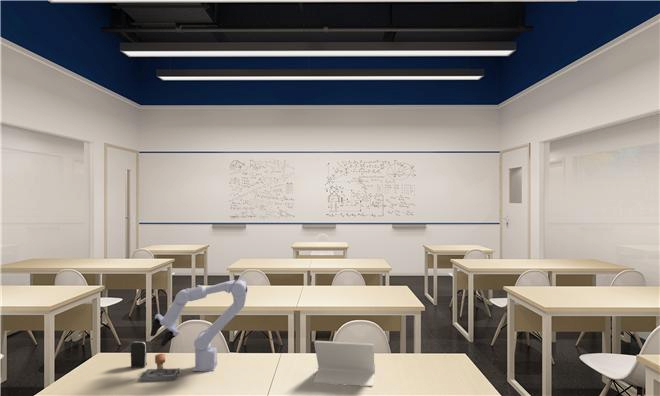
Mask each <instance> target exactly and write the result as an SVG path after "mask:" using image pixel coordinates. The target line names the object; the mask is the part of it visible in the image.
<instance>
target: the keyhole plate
mask: <svg viewBox="0 0 660 396" xmlns="http://www.w3.org/2000/svg"><path fill="white" fill-rule="evenodd" d="M179 375H181V368H179V367H178V368H163V369H157V368H148V369H146V370H145V372H143V373H142V374H141V375H140V377H139V378H140V379H139V381H140V383H141V382H143V383H144V382H173V381H176V380H177V377H179Z"/></svg>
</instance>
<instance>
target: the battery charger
mask: <svg viewBox="0 0 660 396" xmlns="http://www.w3.org/2000/svg"><path fill="white" fill-rule="evenodd" d="M148 352H149V345H148V342H147V341H146V340H135V341H133V342H132V343H131V344H130V367H131V368H145V367H146V366H148V365H147V364H148V363H147V353H148Z"/></svg>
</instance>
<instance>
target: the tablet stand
mask: <svg viewBox="0 0 660 396" xmlns="http://www.w3.org/2000/svg"><path fill="white" fill-rule="evenodd" d="M313 344H314V350H315V354H316V356H315V357H316V360H317V367H318V370H317V373H316V374H315V377H314V378H313V383H314V384H320V385H321V384H323V385H335V384H346V385H345V386H349V385H360V386H359V387H364V386H373V387H374V384H375V382H374V381H375V376H376V363H375V352H374V351H375V350H374V349H375V348H374V343H370V342H368V343H367V342H365V343H364V342H351V341H347V342H345V341H331V340H330V341H329V340H328V341H326V340H314V341H313ZM374 375H375V376H374ZM373 383H374V384H373Z"/></svg>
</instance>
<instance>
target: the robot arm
mask: <svg viewBox="0 0 660 396" xmlns="http://www.w3.org/2000/svg"><path fill="white" fill-rule="evenodd" d="M248 291H249V290H248V283H247V282H246V280H244V279H242V278H239V279H234V280H233V279H232V280H229V281H224V282H220V283H217V284H214V285H210V286H207V287H206V286H204V285H201V284H197V285H196V286H195V287H191V288H189V287H187V288H185V289H182V290H180V291H179V292H177V294H175V298H174V300H173V302H172V303H171V304H170V306H169V308H168V309H167V311H166V313H164V314H165V315H164V316H163V315H162V314H160V313H157V314H155V316H154V319H153V320H152V327H151V332H150V335H149V336H150V337H156V335H157V333H158V332H159V330H160V328H161V327H162V326H164V327H165V328H166V329H167V330H168V331H166V332H165V333H164V337H163V339H162V341H161V343H160V347H165V346H166V345H167V344H168V343H169V342H170V341H171V340H172V339H174V338H175V337H177V336H178V335H179V334H180V331H179V330H178V329H177V326H176V325H175V324H176V323H177V320H178V319H179V317H180V315H181V314H182V312H183V310H184V308H185V306H186V305H187V303H188V302H194V301H198V300H202V299H205V298H207V295H210V294H211V295H212V294H216V293H220V292H225V293H227V294H230V293H231V295H232V297H233V298H232V299H233V302H232V304H230V306H229V307H228V308H226V309H225V310H224V312H223V313H222V314H221V315H219V317H218V318H217V319H216V320H215V321H214V322H213V323H212V324H211V325H210V326H209V327H207V328H206V329H204V330H202V331H200V333H199V334H198V336H197V338H195V340H194V343H193V344H194V345H193V346H194V355H195V356H194V358H195V359H194V363H195V365H194V367H193V369H192V372H206V371H207V372H210V371H214V370H215V369H216V367H217V366H218V349H217V347H213V346H212V344H211V342H212V340H213V339H214V338H215V337H216V336H217V334H218V333H219V332H221V330H222V329H223V328H224V327H225V326H227V324H228V323H229V322H230V321H232V319H233V318H234V317H235V316H236V315H237V314H238V313H240V311H241V310H242V309H243V308H244V306H245V305H246V299H247V295H248Z"/></svg>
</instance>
